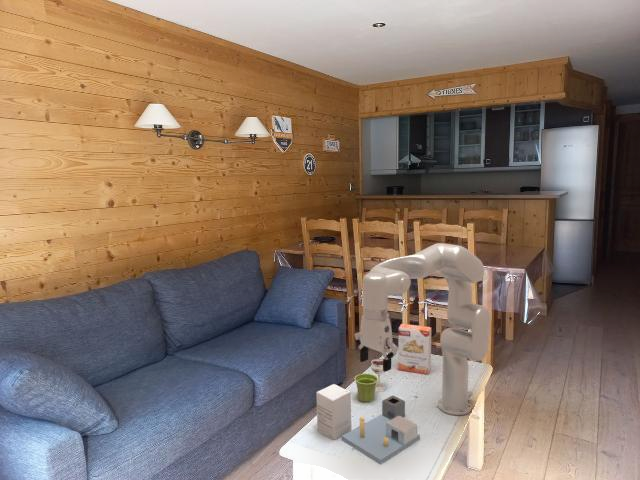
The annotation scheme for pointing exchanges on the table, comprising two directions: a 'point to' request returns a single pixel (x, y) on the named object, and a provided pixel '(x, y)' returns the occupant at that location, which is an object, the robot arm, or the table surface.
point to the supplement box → (333, 411)
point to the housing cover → (401, 429)
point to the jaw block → (393, 407)
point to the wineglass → (378, 371)
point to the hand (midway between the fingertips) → (375, 365)
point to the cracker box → (414, 348)
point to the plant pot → (366, 386)
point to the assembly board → (375, 440)
